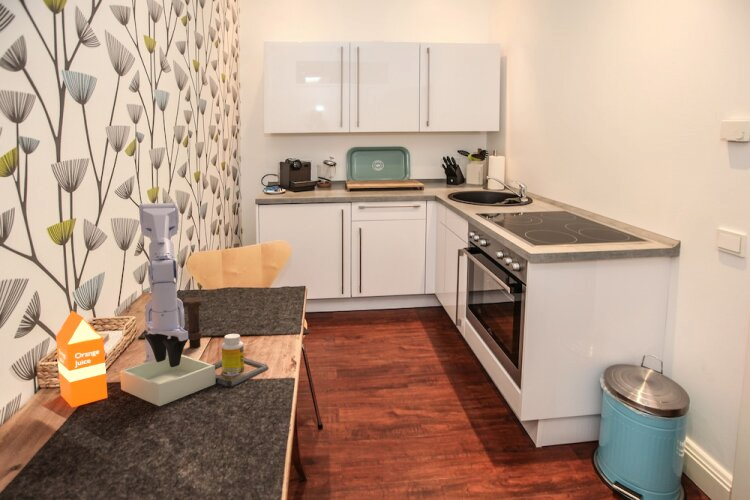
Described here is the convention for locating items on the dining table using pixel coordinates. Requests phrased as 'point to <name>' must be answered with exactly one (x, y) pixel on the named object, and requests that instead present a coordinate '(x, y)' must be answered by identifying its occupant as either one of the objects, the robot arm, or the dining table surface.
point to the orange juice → (81, 362)
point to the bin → (167, 379)
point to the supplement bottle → (232, 355)
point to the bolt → (194, 321)
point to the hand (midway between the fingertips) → (167, 363)
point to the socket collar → (240, 378)
